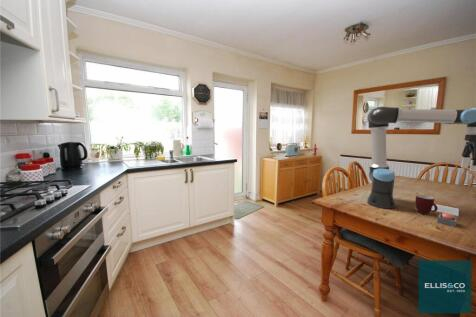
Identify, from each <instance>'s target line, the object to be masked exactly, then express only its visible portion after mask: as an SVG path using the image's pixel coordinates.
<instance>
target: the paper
mask: <svg viewBox="0 0 476 317" xmlns="http://www.w3.org/2000/svg"><path fill="white" fill-rule="evenodd" d="M435 204H436V205H437V208H438V209H437V211H435V212H438V213H440V214H442V213H449V214H452V215H454V217H455V216H456V217H459V214H460V208H457V207H451V206H448V205H447V206H446V205H441V204H437V203H435ZM434 209H435V207H434V206H432V209H431V210H432V211H433V210H434Z"/></svg>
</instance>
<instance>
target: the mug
mask: <svg viewBox="0 0 476 317" xmlns="http://www.w3.org/2000/svg"><path fill="white" fill-rule="evenodd" d="M436 204H437V203H435V198H434V197H433V196H430V195H425V194H424V195H423V194H416V195H415V207H416V210H417V212H418V213H419V214H422V215H429V213H430V212H431V213H435V212H436V211H437V209H438V208H437V205H438V204H437V205H436ZM432 206H434V207H435V209H434V210H433V211H432V210H431V209H432Z"/></svg>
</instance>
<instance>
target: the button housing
mask: <svg viewBox="0 0 476 317" xmlns="http://www.w3.org/2000/svg"><path fill="white" fill-rule="evenodd" d="M441 217H442V213H439V214H438V216H437V221H436V222H437V223H438V224H442V225H445V226H450V227H453V228H456V227H457V220H458V217H455V216H454V218H453V220H449V219H445V218H441Z"/></svg>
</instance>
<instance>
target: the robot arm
mask: <svg viewBox="0 0 476 317" xmlns="http://www.w3.org/2000/svg"><path fill="white" fill-rule="evenodd" d="M366 117H367V118H366V119H367V122H368V125H367V126H368V130H370V137H371V138H370V141H371V143H370V145H371V164H369V171H368V178H369V180H370V181H371V188H370V189H371V191H370V193H369V195H368V198H367V201H366V203H367V204H368V205H370V206H373V207H376V208H379V209H387V210H388V209H389V210H390V209H395V207H396V203H395V199H394V189H395V179H396V173H395V172H394V171H393V170H391V169H390V165H389V164H387V129H388V128H389V124H397V123H399V122H400V123H402V122H403V123H430V124H431V123H433V124H434V123H435V124H436V123H439V124H442V125H466V128H465V136H464V141H466V142H465V145H464V148H463V150H462V153H461V156H462V160H461V166H460V167H461V168H462V169H463V168H464V169H468V168H469V171H470V172H476V107H471V108H468V109H430V108H429V109H428V108H427V109H422V108H421V109H416V108H413V109H412V108H411V109H410V108H404V109H403V108H402V109H401V108H400V107H395V106H394V107H392V106H391V107H390V106H377V107H375V108H373V109H371V110H370V111H369V113H368V114H367V116H366ZM471 156H472V157H471ZM470 158H471V159H470ZM470 161H471V162H470ZM469 162H470V166H469Z"/></svg>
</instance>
